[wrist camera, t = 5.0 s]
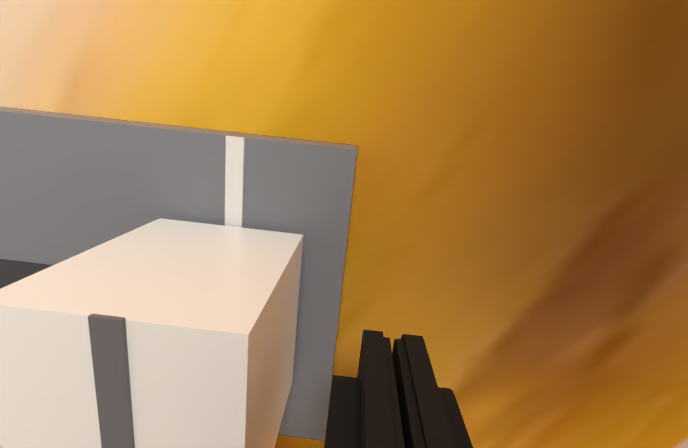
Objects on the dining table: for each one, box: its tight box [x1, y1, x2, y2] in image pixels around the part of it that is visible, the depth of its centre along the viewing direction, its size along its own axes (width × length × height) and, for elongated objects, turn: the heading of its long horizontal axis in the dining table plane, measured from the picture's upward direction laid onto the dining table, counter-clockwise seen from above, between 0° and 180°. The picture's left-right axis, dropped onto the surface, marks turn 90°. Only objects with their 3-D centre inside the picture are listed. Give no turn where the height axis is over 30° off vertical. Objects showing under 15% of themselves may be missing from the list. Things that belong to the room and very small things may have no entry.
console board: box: [0, 107, 358, 441], centre depth 15 cm, size 26×12×3 cm, turn 84°
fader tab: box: [0, 218, 303, 448], centre depth 10 cm, size 5×6×6 cm
